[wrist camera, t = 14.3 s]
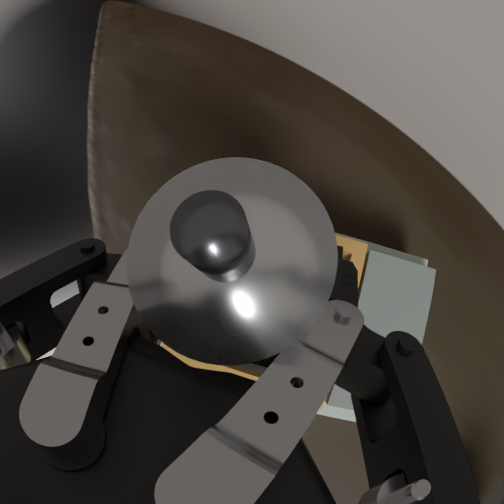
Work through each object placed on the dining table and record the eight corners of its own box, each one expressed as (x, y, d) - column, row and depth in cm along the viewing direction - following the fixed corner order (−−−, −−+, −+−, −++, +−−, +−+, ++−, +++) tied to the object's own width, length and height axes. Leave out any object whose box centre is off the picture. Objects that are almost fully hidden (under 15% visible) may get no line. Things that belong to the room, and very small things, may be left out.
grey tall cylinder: (311, 278, 17) (373, 143, 5) (288, 354, 16) (306, 415, 4) (237, 257, 17) (149, 105, 5) (213, 330, 16) (57, 312, 4)
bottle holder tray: (408, 270, 20) (438, 254, 16) (370, 413, 18) (392, 433, 13) (221, 219, 23) (204, 190, 18) (175, 356, 21) (145, 361, 16)
